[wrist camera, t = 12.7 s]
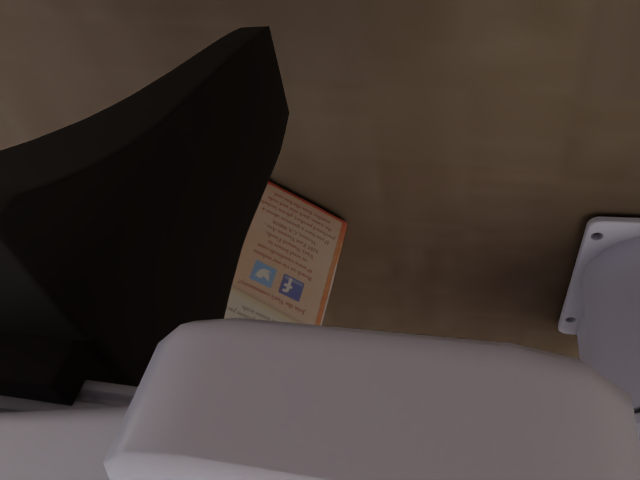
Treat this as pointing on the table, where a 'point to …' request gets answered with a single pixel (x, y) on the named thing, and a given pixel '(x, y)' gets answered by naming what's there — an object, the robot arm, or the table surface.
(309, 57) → the table surface
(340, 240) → the cracker box
